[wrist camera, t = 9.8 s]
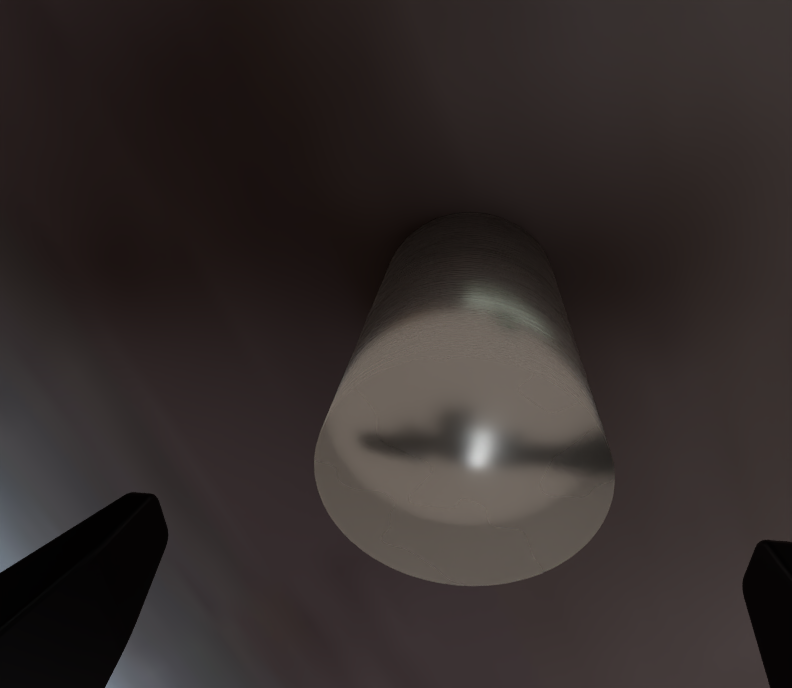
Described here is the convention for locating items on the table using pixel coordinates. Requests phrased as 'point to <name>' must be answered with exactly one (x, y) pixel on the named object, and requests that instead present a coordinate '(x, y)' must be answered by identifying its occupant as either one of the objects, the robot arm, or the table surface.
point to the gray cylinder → (466, 415)
